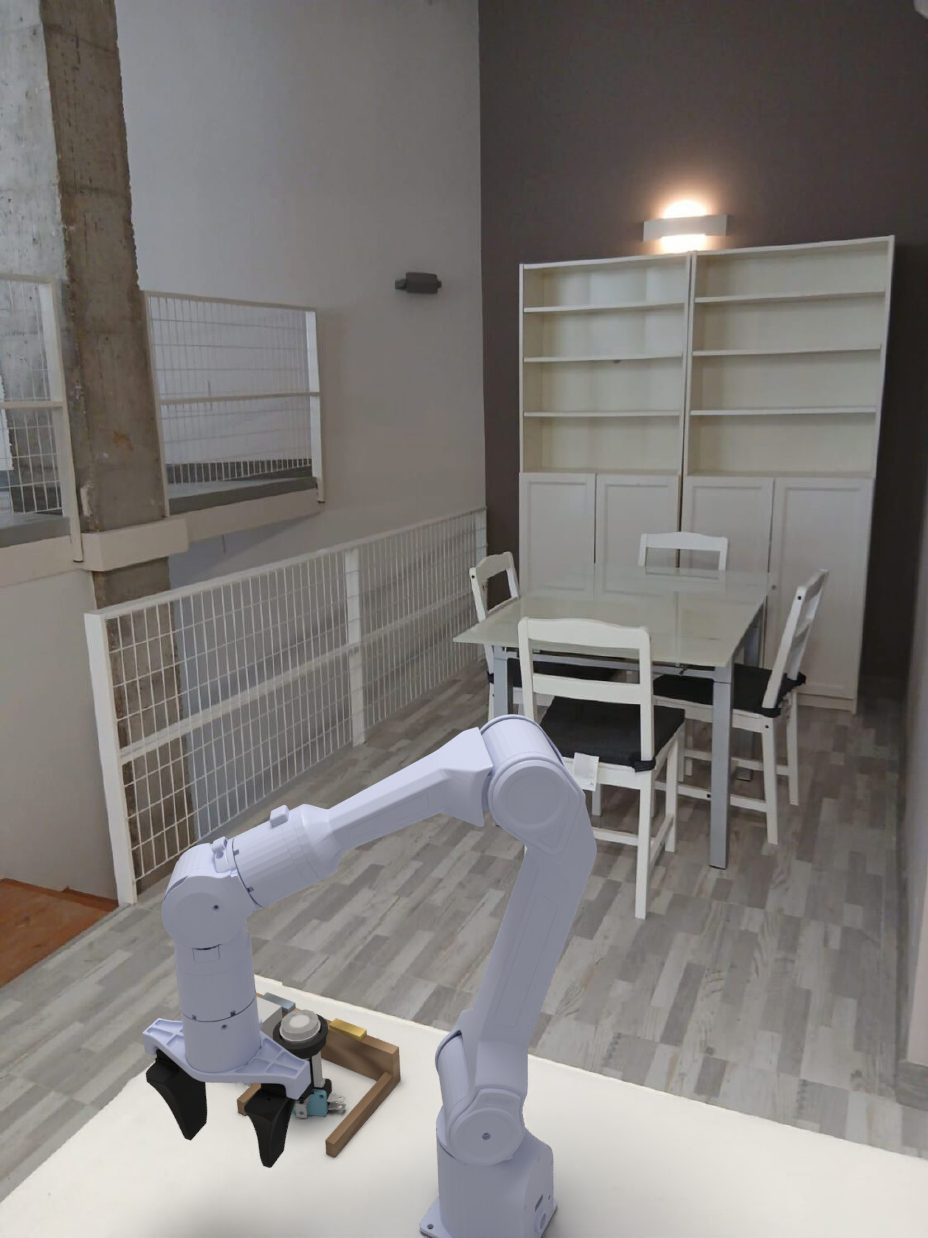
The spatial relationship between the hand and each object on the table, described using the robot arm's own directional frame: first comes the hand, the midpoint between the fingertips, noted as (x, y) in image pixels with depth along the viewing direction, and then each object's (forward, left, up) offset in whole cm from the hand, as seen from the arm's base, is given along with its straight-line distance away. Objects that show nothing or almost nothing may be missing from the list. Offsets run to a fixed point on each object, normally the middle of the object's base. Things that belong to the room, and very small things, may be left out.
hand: (234, 1144), depth 75 cm
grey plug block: (+15, -17, -10) cm, 25 cm away
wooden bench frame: (+9, -16, -10) cm, 21 cm away
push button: (+5, -15, -11) cm, 19 cm away
